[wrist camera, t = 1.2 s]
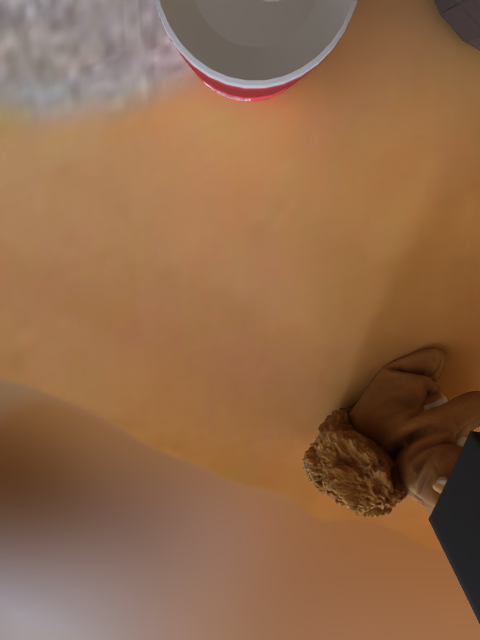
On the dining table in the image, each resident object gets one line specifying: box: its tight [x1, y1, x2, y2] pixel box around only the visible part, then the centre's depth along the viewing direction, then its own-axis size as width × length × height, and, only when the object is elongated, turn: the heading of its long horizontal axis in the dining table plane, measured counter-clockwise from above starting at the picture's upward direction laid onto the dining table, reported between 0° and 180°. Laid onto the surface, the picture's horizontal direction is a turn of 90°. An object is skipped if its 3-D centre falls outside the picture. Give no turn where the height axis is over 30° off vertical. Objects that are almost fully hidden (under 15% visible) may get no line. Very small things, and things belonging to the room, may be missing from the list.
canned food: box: [155, 0, 358, 102], centre depth 21 cm, size 8×8×11 cm
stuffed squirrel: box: [302, 347, 480, 517], centre depth 31 cm, size 10×14×13 cm
